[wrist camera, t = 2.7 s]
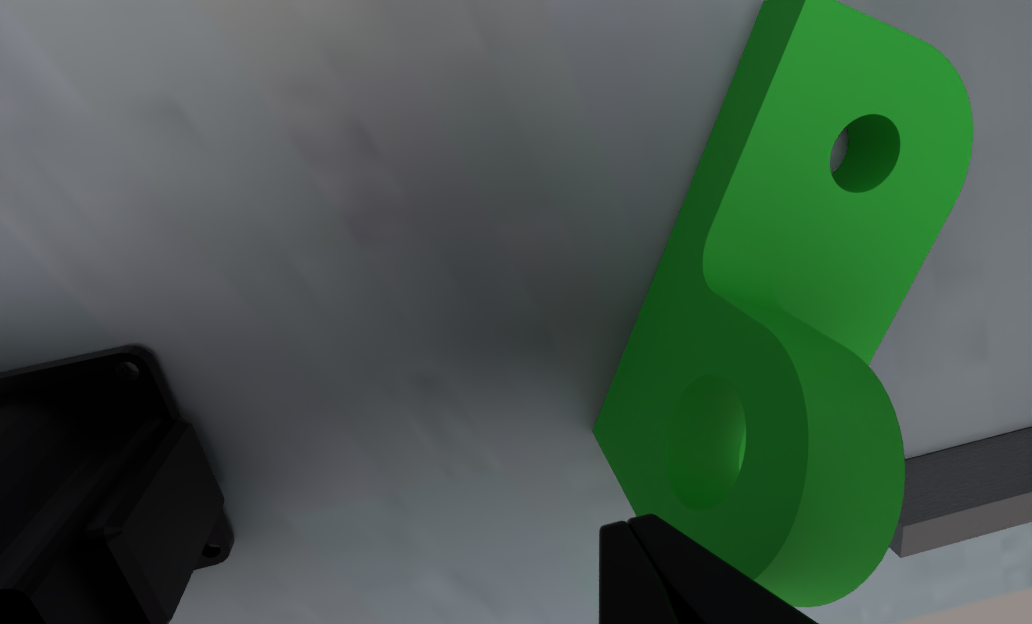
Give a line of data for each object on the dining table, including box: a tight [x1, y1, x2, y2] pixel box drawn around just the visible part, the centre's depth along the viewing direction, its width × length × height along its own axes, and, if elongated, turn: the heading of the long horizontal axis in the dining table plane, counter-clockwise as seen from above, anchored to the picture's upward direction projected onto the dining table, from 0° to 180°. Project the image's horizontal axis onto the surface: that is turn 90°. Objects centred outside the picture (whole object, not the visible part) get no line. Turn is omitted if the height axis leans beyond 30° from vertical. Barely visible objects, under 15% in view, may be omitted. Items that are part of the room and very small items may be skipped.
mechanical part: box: [592, 0, 973, 607], centre depth 13 cm, size 12×6×8 cm, turn 162°
